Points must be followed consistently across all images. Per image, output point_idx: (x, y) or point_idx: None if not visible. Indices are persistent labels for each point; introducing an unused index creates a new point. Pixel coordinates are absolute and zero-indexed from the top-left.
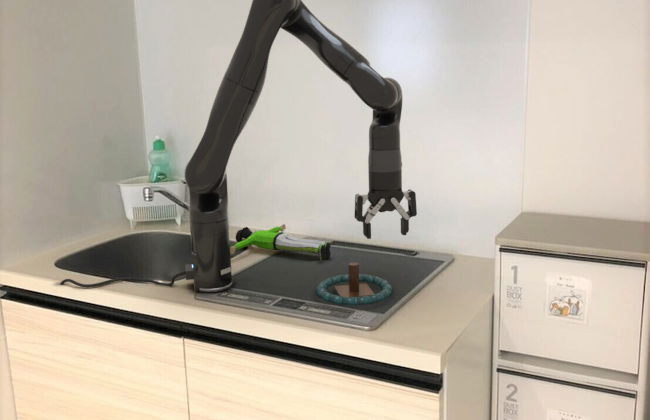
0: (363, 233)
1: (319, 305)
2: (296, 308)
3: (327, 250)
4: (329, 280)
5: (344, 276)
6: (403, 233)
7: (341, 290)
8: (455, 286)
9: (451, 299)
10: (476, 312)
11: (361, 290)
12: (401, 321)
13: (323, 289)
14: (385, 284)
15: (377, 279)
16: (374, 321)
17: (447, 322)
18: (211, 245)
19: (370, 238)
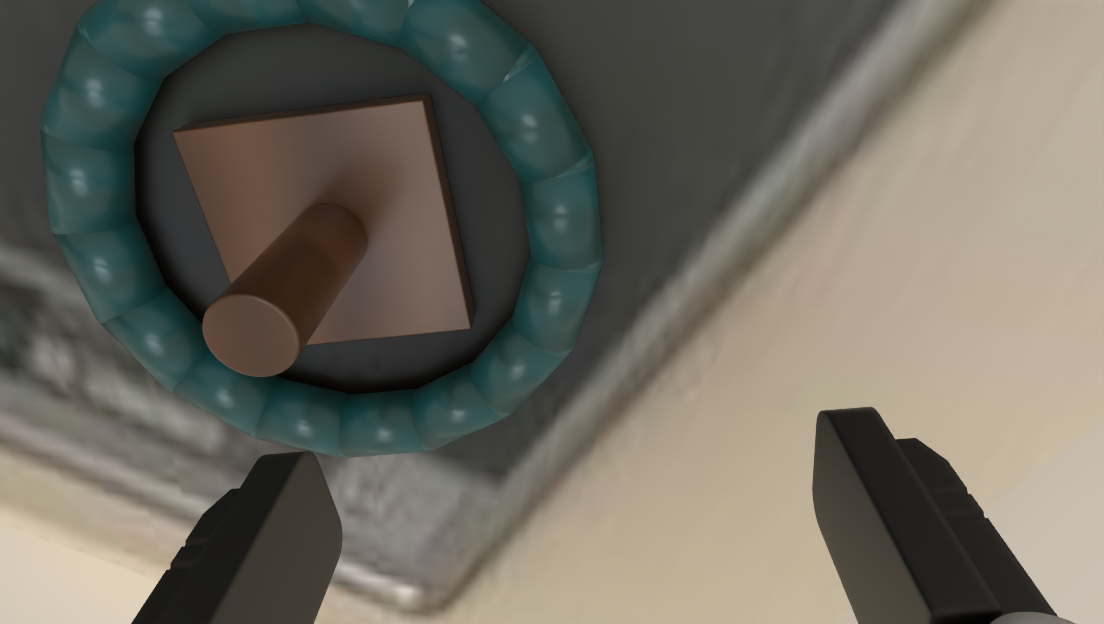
0: (211, 517)
1: None
2: (18, 369)
3: None
4: (109, 98)
5: (224, 11)
6: (821, 523)
7: (241, 231)
8: (1091, 167)
9: (929, 374)
10: None
11: (383, 250)
12: (568, 565)
13: (107, 293)
14: (553, 261)
15: (508, 137)
16: (445, 551)
17: (768, 597)
18: None
19: (336, 534)
